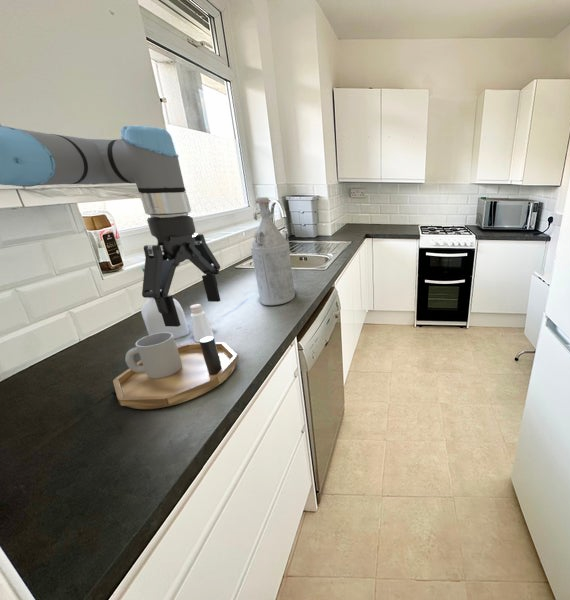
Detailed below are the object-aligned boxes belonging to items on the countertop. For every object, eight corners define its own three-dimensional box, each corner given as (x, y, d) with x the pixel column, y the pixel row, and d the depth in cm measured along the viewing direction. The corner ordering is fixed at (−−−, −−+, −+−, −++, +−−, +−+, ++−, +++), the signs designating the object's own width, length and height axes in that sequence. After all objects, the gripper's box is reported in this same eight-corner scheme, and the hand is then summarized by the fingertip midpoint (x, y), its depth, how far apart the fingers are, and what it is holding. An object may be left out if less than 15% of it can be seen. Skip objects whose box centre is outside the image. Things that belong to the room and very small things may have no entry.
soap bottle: (192, 337, 97) (170, 266, 88) (154, 348, 91) (127, 273, 82) (185, 327, 103) (165, 260, 95) (149, 337, 97) (124, 267, 89)
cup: (182, 373, 76) (172, 341, 73) (130, 387, 71) (117, 353, 68) (183, 359, 82) (173, 329, 79) (134, 372, 77) (122, 340, 74)
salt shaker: (218, 334, 99) (209, 302, 95) (207, 342, 94) (198, 309, 90) (201, 334, 99) (192, 301, 95) (190, 342, 94) (180, 309, 90)
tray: (166, 351, 88) (155, 319, 84) (251, 349, 88) (244, 317, 84) (88, 410, 66) (69, 370, 62) (202, 408, 66) (190, 368, 62)
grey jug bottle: (253, 307, 118) (230, 198, 104) (271, 292, 134) (254, 195, 120) (286, 307, 118) (268, 197, 103) (300, 291, 134) (287, 194, 119)
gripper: (194, 209, 74) (214, 292, 82) (89, 223, 51) (131, 338, 59) (224, 209, 73) (241, 293, 81) (133, 223, 50) (169, 339, 58)
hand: (195, 312), depth 70 cm, fingers open, 13 cm apart
